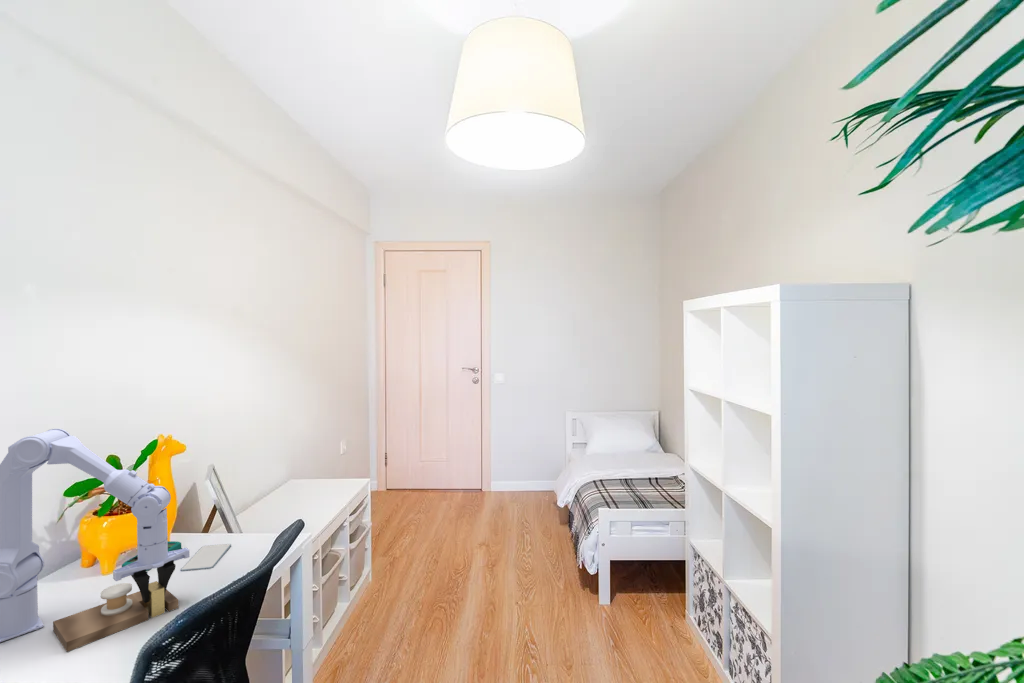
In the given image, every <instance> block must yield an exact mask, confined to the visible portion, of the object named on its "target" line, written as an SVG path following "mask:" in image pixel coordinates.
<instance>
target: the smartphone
mask: <svg viewBox="0 0 1024 683" xmlns="http://www.w3.org/2000/svg"><path fill="white" fill-rule="evenodd" d="M231 547H232V544H231V543H224V544H223V543H222V544H210V545H203V546H201V547H200V548H199V549H198V551H197V552H195V554H194V555H192V556H191V558H190V559H189V560H188V561H187V562H185V564H184V565H183V566H182V567H181V568H180V572H188V571H190V570H192V571H196V570H197V571H199V570H200V571H201V570H211V569H214V567H215V566H216V565H217V564H218V563H219V562H220V561H221V559H222V558H223V557H224V556H225V555H226V554H227V552H228V551H229V550H230V549H231Z"/></svg>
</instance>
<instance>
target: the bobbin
mask: <svg viewBox="0 0 1024 683" xmlns="http://www.w3.org/2000/svg"><path fill="white" fill-rule="evenodd" d="M132 590H133V585H132V583H129V582H123V583H116V584H114V585H110V586H108V587H106V588H104V589H102V591H101V592H100V599H102V600H106V603H107V604H106V605H104V606H103V607H102V608H101V614H102V615H104V616H110V615H115V614H119V613H122V612H124V611H126V610H128V609H129V608H130V607H131V606H132V600H131V599H127V594H128V595H129V593H131V592H132Z"/></svg>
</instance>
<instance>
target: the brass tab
mask: <svg viewBox="0 0 1024 683" xmlns="http://www.w3.org/2000/svg"><path fill="white" fill-rule="evenodd" d="M144 607H145V608H146V609H147V610H148V616H149V617H150V618H152V619H153V618H155V617H158V616H160V615H162V613H163V614H165V613H166V612H165V610H166V609H165V604H164V587H163V586H162V585H161V584H159V583H158V580H156V581H152V582H149V602H147V603H145V602H144ZM164 612H165V613H164ZM157 615H158V616H157Z"/></svg>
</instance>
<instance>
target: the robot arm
mask: <svg viewBox="0 0 1024 683" xmlns="http://www.w3.org/2000/svg"><path fill="white" fill-rule="evenodd" d="M7 449H8V450H7V451H8V452H7V453H6V455H5V456H4V458H3V460H2V461H1V462H0V643H2V642H5V641H8V640H10V639H13V638H17V637H20V636H22V635H25V634H28V633H30V632H34V631H36V630H38V629H41V628H43V627H44V623H43V621H42V619H41V618H40V616H39V611H38V610H39V602H38V596H39V595H38V578H39V577H38V575H39V574H40V573H41V572H42V571H43V570H44V567H45V560H44V557H43V556H42V554H41V552H40V546H39V544H37V543H35V542H34V541H33V474H34V472H35V471H37V470H38V469H39V468H41V467H42V466H43V465H45V464H46V465H63V464H64V465H65V464H66V465H67V464H68V465H69V464H70V465H71V466H73V467H75V468H76V469H78V470H80V471H83V472H84V473H86V474H87V475H90V476H91V477H93V478H95V479H97V480H98V481H101V482H102V483H103V489H104V491H105V492H106V493H109V494H110V495H111V496H113V497H114V498H116V499H118V500H120V501H121V502H122V503H124V504H125V505H127V506H129V507H131V509H130V510H131V513H132V515H133V516H134V517H135V518H136V521H137V522H136V523H137V524H136V540H137V542H136V543H137V555H138V561H135V562H133V563H131V564H129V565H126V566H124V567H122V566H121V567H119V568H117V569H114V570H113V571H112V575H113V577H112V579H113V580H114V581H115V582H118V581H122V579H125V578H126V577H130V576H131V577H132V579H133V580H134V582H135V584H136V585H137V587H138V591H140V592H141V596H142V601H144V602H145V603H147V602H149V583H150V580H151V579H150V578H151V576H150V575H149V574H148V571H150V570H152V569H156V570H157V582H158V583H159V584H161V585H162V586H163V587H164V596H165V592H166V589H167V587H168V584H169V581H170V579H171V578H172V575H173V573H174V572H175V570H176V564H175V562H176V561H179V560H182V559H183V560H184V559H188V558H190V549H189V548H187V547H184V548H183V547H182V548H181V549H179V550H174V551H170V552H168V541H169V540H168V537H169V536H168V517H167V516H168V508H167V507H168V505H169V504H170V503H171V498H172V497H171V493H170V491H169V490H168V489H167V488H166V487H165V486H163V485H155V484H154V483H152V482H151V483H149V482H147V481H146V480H145V479H143V478H141V477H140V476H138V471H135V469H134V470H133V469H132V470H129V469H127V468H124V469H116V468H115V467H114V466H112V465H111V464H110V463H109V462H107V461H106V460H105V459H104V458H102V457H100V456H99V455H98V454H96V453H95V452H93V451H92V450H91V449H90V448H88V447H87V446H85V445H84V444H83V442H81V440H80V439H79V438H78V436H75V435H74V434H72V435H71V434H70V432H68V431H67V430H65V429H63V428H51V429H48V430H46V431H43V432H40V433H37V434H34V435H29V436H23V437H22V438H20V439H19V440H17V441H16V442H14V443H13V444H11V445H9V446H8V447H7ZM149 569H150V570H149ZM146 570H148V571H146Z"/></svg>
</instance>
